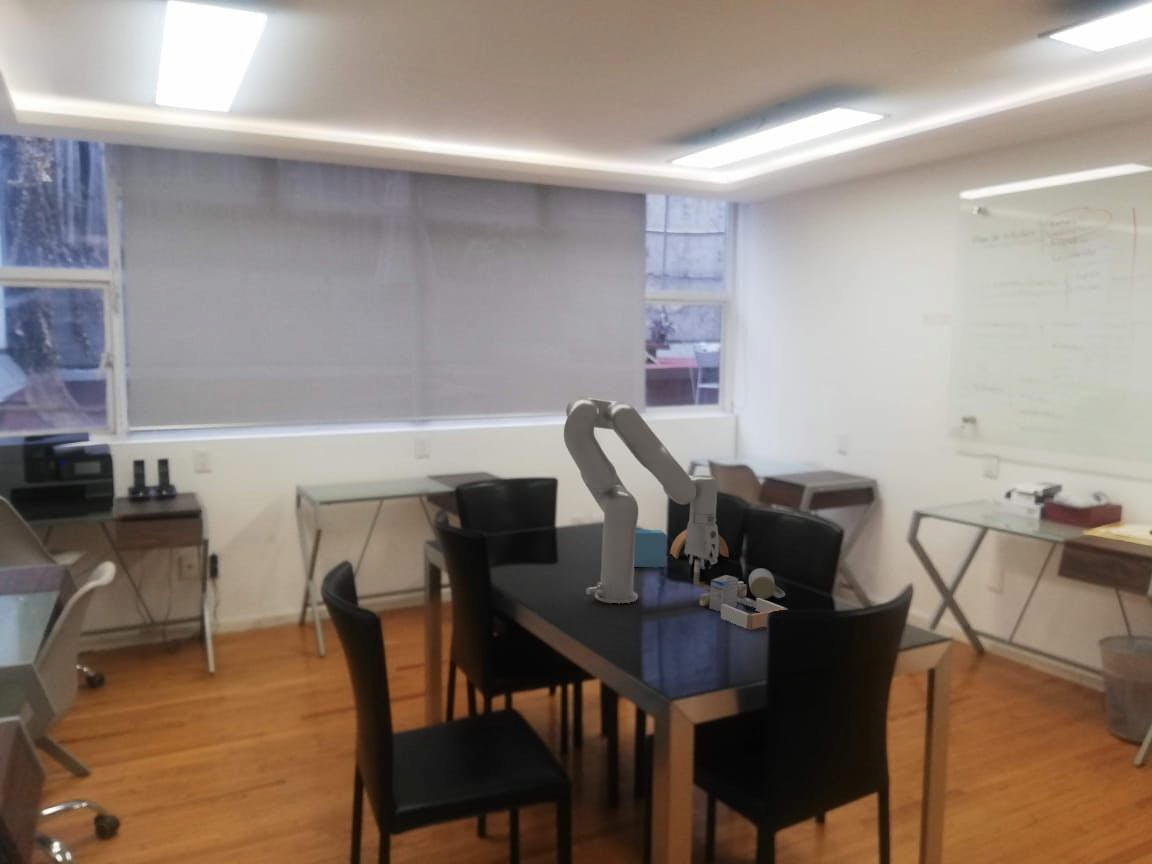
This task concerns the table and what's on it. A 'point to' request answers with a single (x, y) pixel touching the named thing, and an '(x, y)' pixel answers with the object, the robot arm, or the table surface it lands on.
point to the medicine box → (723, 592)
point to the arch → (682, 538)
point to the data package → (650, 548)
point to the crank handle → (706, 597)
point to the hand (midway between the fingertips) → (699, 579)
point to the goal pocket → (750, 619)
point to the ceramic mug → (764, 584)
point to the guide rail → (746, 601)
